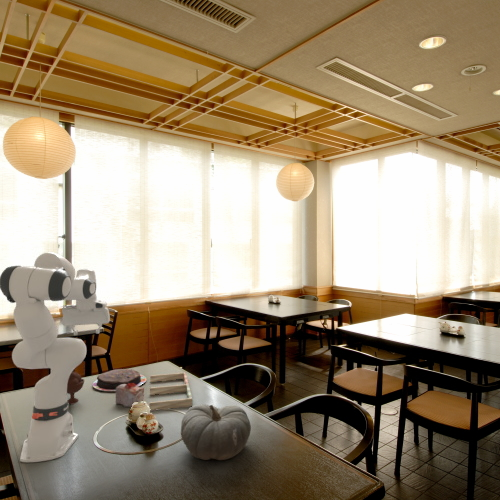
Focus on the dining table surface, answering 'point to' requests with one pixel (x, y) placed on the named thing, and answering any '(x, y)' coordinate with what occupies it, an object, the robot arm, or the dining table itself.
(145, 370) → the dining table surface
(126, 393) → the food item
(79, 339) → the robot arm
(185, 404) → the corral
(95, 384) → the chocolate cake
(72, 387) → the ice cream bowl
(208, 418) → the gourd
